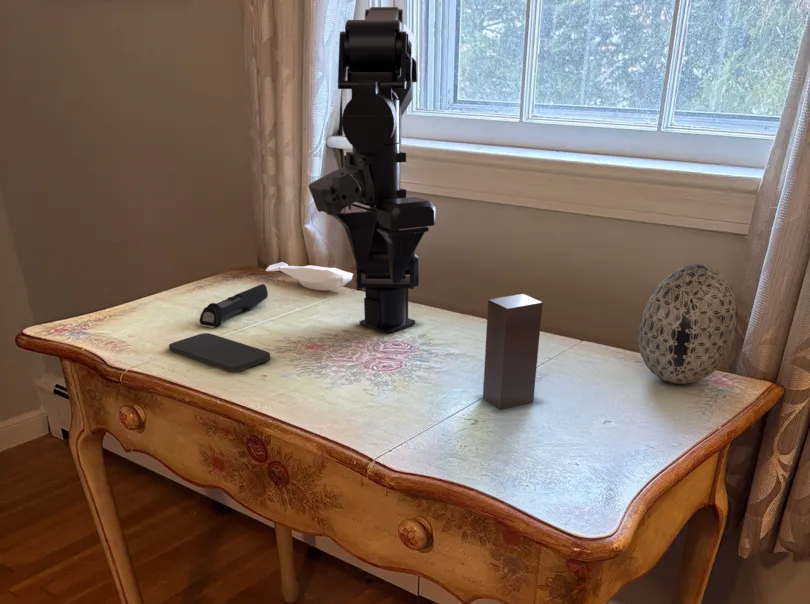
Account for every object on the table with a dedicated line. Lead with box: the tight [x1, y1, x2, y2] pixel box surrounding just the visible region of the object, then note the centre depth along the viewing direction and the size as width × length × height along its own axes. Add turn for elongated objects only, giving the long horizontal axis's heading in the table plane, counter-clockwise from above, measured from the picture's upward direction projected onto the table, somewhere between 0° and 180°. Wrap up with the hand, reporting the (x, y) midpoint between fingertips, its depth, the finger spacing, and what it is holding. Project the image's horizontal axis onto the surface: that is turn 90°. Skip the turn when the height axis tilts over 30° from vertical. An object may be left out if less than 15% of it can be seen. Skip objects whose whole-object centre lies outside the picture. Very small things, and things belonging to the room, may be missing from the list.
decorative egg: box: [637, 263, 738, 385], centre depth 100 cm, size 12×12×15 cm
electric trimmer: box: [199, 283, 269, 329], centre depth 128 cm, size 4×16×3 cm, turn 153°
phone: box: [168, 332, 271, 373], centre depth 113 cm, size 7×1×15 cm
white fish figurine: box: [265, 261, 354, 291], centre depth 141 cm, size 6×18×4 cm, turn 52°
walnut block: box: [482, 293, 543, 410], centre depth 96 cm, size 4×5×12 cm
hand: (378, 275), depth 104 cm, fingers open, 9 cm apart
